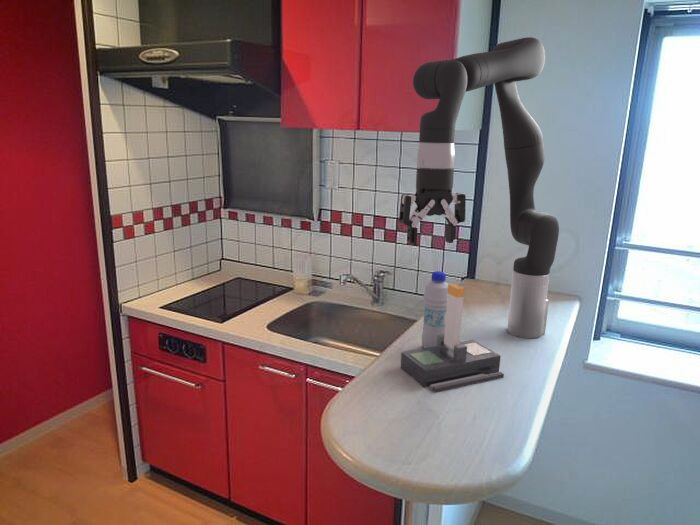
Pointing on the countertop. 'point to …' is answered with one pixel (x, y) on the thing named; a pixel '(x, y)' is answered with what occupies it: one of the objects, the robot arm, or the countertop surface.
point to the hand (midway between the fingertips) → (431, 243)
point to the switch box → (449, 362)
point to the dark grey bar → (465, 381)
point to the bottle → (434, 309)
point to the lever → (453, 316)
